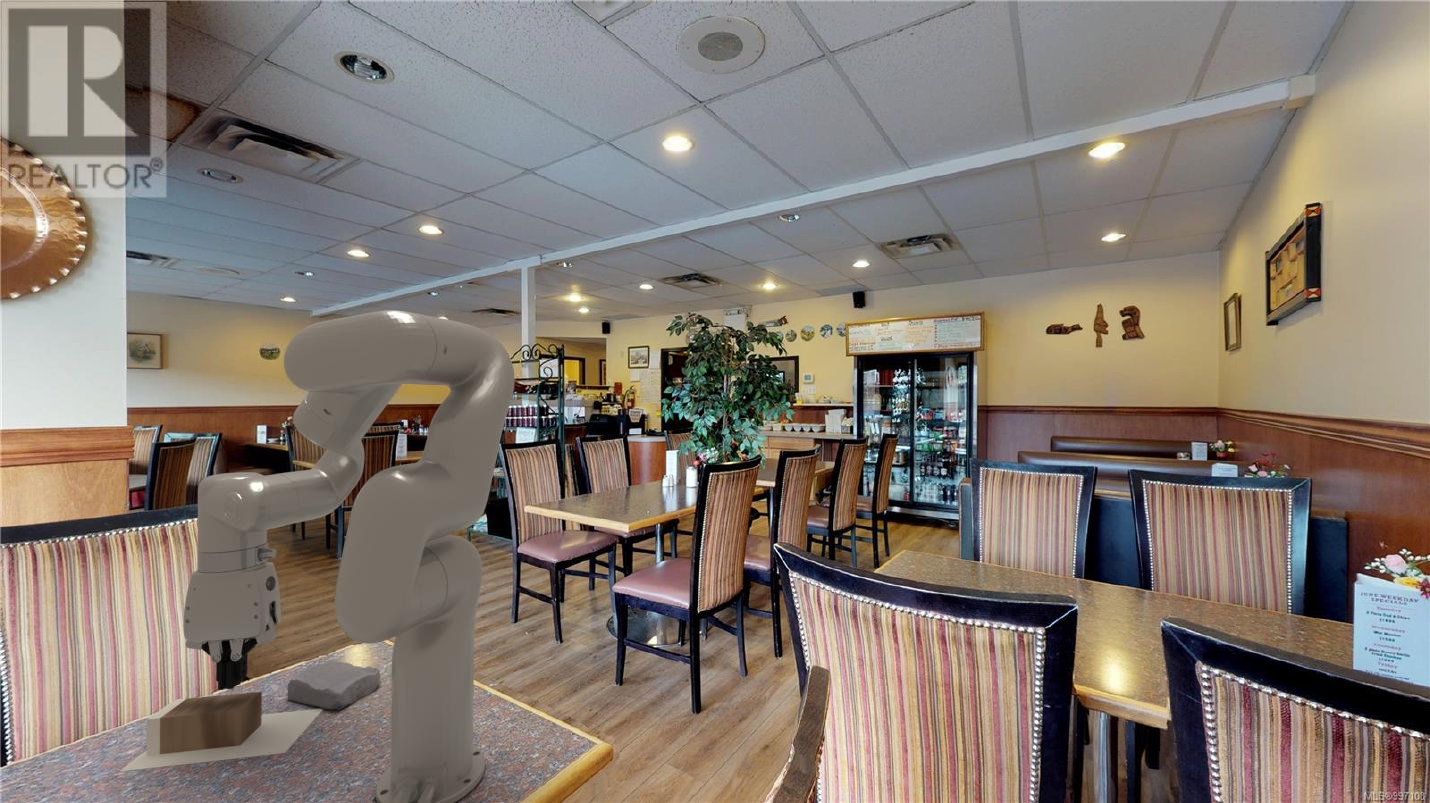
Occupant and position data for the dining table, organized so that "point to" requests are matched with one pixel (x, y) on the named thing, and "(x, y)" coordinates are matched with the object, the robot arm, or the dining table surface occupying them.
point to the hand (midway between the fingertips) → (231, 684)
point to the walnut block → (204, 723)
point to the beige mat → (266, 740)
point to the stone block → (332, 684)
